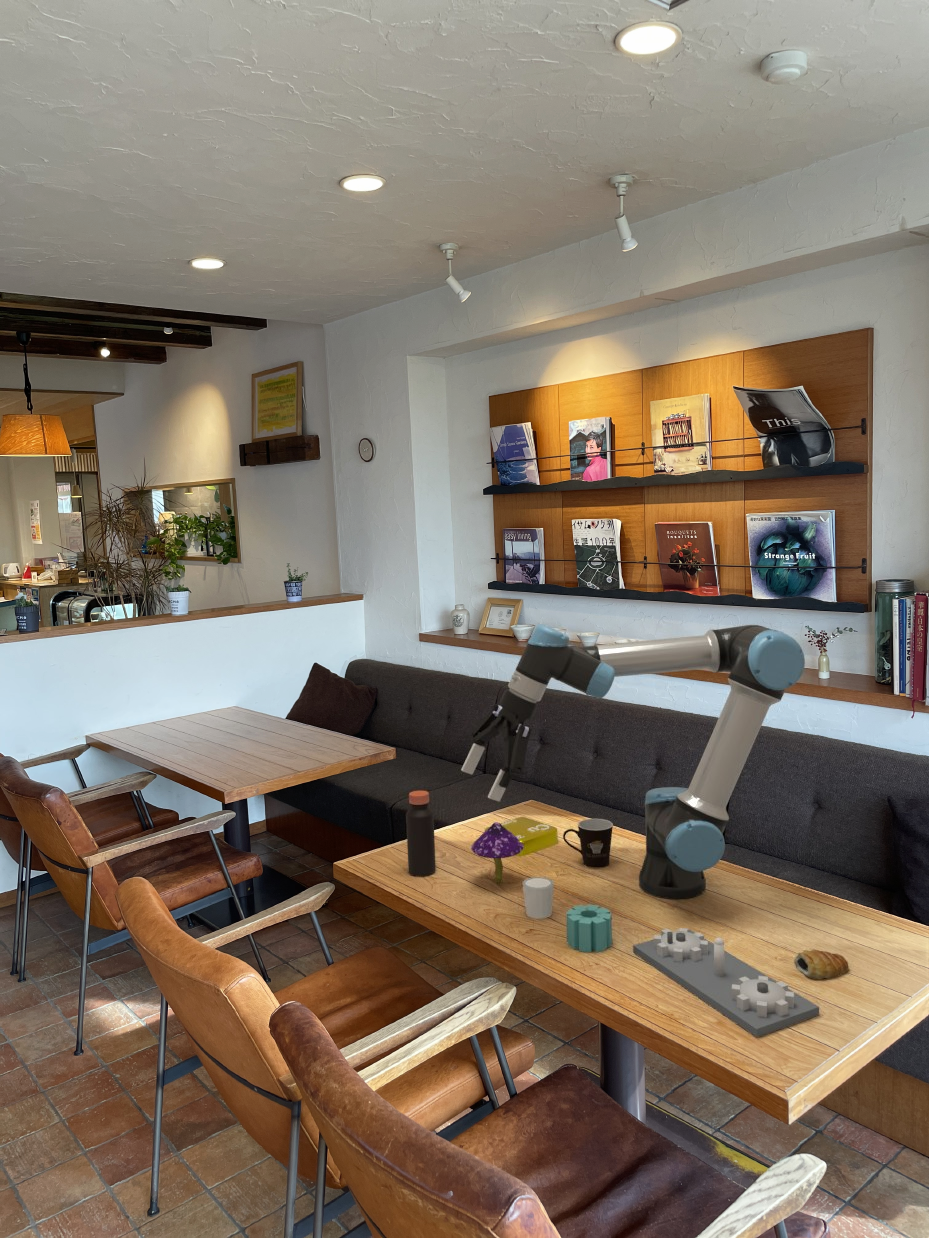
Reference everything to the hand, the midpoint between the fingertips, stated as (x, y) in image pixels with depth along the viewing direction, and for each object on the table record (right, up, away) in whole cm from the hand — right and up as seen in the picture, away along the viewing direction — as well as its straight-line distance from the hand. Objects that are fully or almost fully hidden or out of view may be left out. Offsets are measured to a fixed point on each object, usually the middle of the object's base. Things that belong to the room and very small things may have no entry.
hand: (479, 785), depth 193 cm
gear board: (+44, -32, -25) cm, 59 cm away
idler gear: (+22, -31, -7) cm, 39 cm away
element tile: (+12, -25, +51) cm, 58 cm away
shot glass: (+13, -30, +7) cm, 33 cm away
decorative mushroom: (+5, -28, +24) cm, 37 cm away
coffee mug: (+28, -26, +35) cm, 52 cm away
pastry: (+63, -31, -22) cm, 74 cm away
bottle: (-14, -28, +33) cm, 45 cm away
